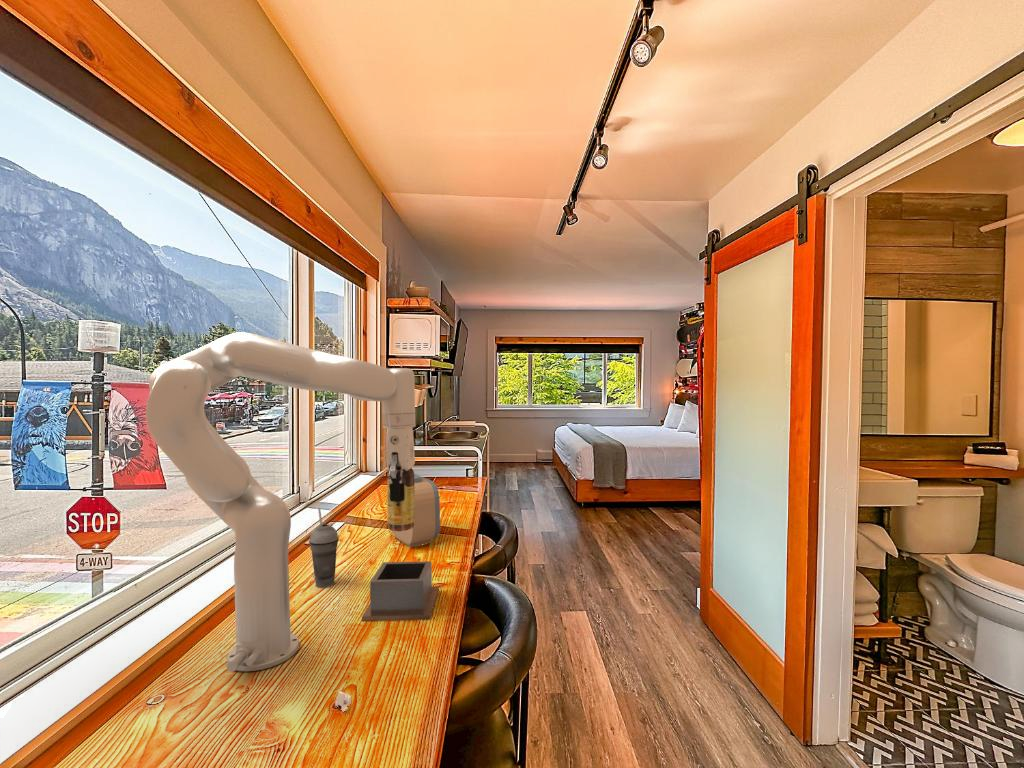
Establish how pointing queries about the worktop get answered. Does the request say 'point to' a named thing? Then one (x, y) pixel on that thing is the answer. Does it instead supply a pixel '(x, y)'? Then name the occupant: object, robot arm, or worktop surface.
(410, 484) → the sauce bottle
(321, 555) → the beverage cup
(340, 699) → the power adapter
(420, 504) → the alarm clock
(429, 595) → the grey square open box
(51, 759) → the worktop surface
